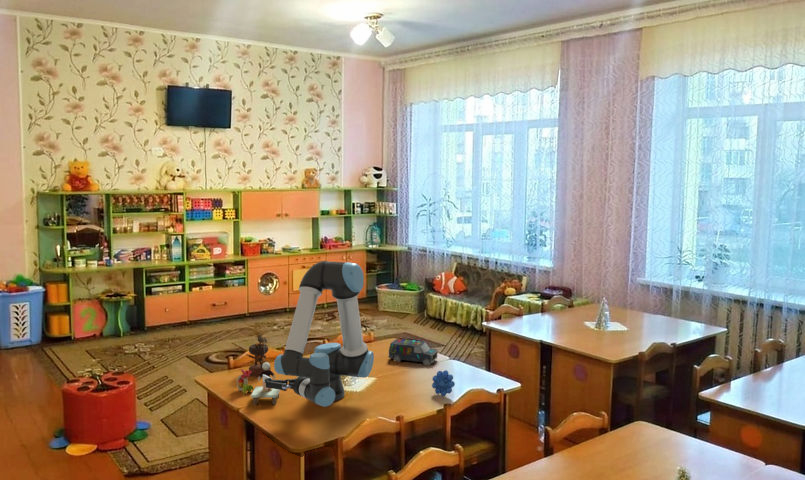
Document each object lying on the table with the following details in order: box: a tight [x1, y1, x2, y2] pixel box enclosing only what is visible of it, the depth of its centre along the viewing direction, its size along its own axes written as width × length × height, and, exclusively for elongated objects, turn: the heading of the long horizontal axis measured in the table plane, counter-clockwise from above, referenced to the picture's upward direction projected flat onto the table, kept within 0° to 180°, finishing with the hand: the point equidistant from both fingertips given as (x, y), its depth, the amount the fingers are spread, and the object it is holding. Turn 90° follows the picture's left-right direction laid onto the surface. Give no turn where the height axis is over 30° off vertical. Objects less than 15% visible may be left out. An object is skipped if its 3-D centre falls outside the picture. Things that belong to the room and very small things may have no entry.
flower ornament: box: [236, 368, 255, 395], centre depth 296 cm, size 6×11×9 cm
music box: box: [246, 333, 272, 378], centre depth 321 cm, size 15×11×20 cm
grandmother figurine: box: [257, 361, 276, 392], centre depth 285 cm, size 8×4×13 cm, turn 131°
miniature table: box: [250, 385, 281, 406], centre depth 286 cm, size 11×11×4 cm
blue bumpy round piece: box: [431, 370, 456, 397], centre depth 294 cm, size 12×7×12 cm, turn 54°
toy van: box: [387, 338, 439, 366], centre depth 346 cm, size 11×25×10 cm, turn 70°
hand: (277, 374), depth 277 cm, fingers open, 13 cm apart
